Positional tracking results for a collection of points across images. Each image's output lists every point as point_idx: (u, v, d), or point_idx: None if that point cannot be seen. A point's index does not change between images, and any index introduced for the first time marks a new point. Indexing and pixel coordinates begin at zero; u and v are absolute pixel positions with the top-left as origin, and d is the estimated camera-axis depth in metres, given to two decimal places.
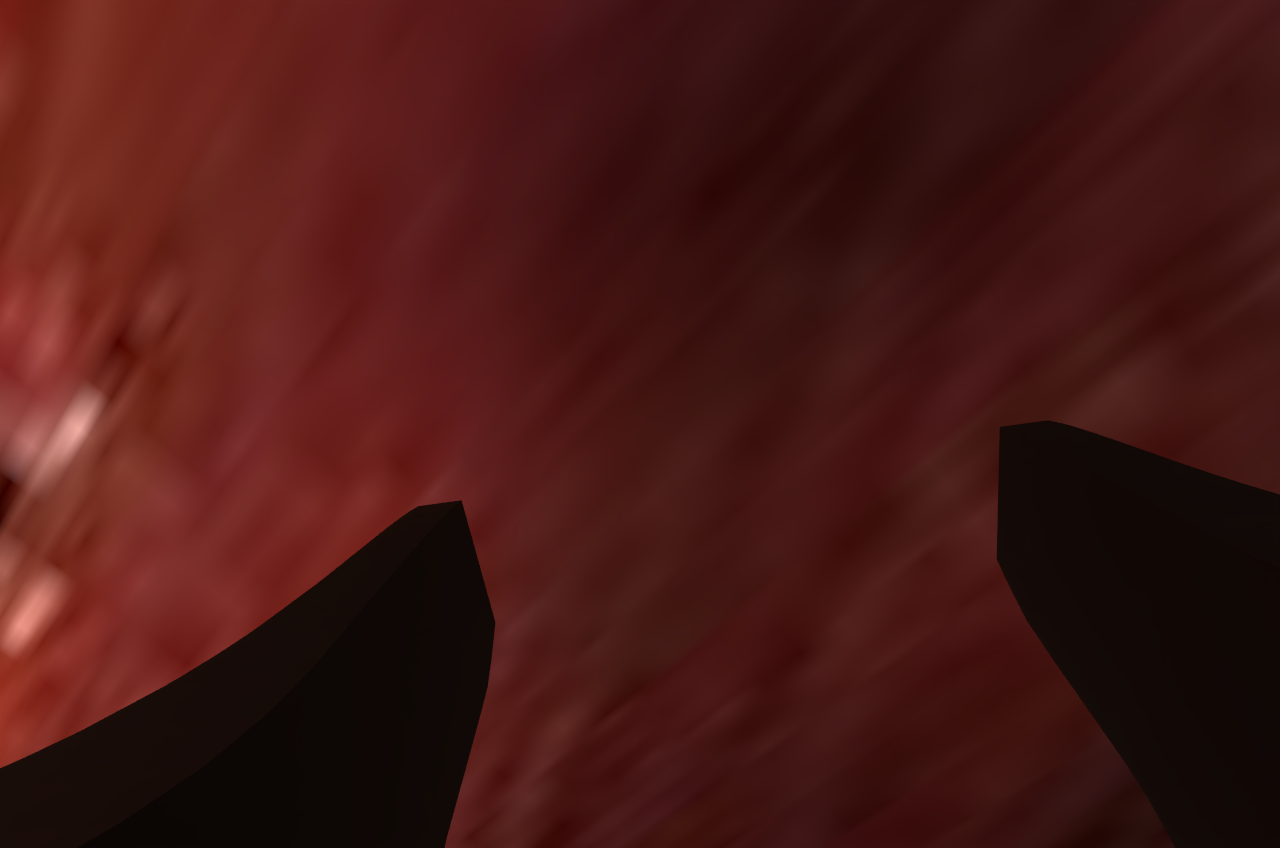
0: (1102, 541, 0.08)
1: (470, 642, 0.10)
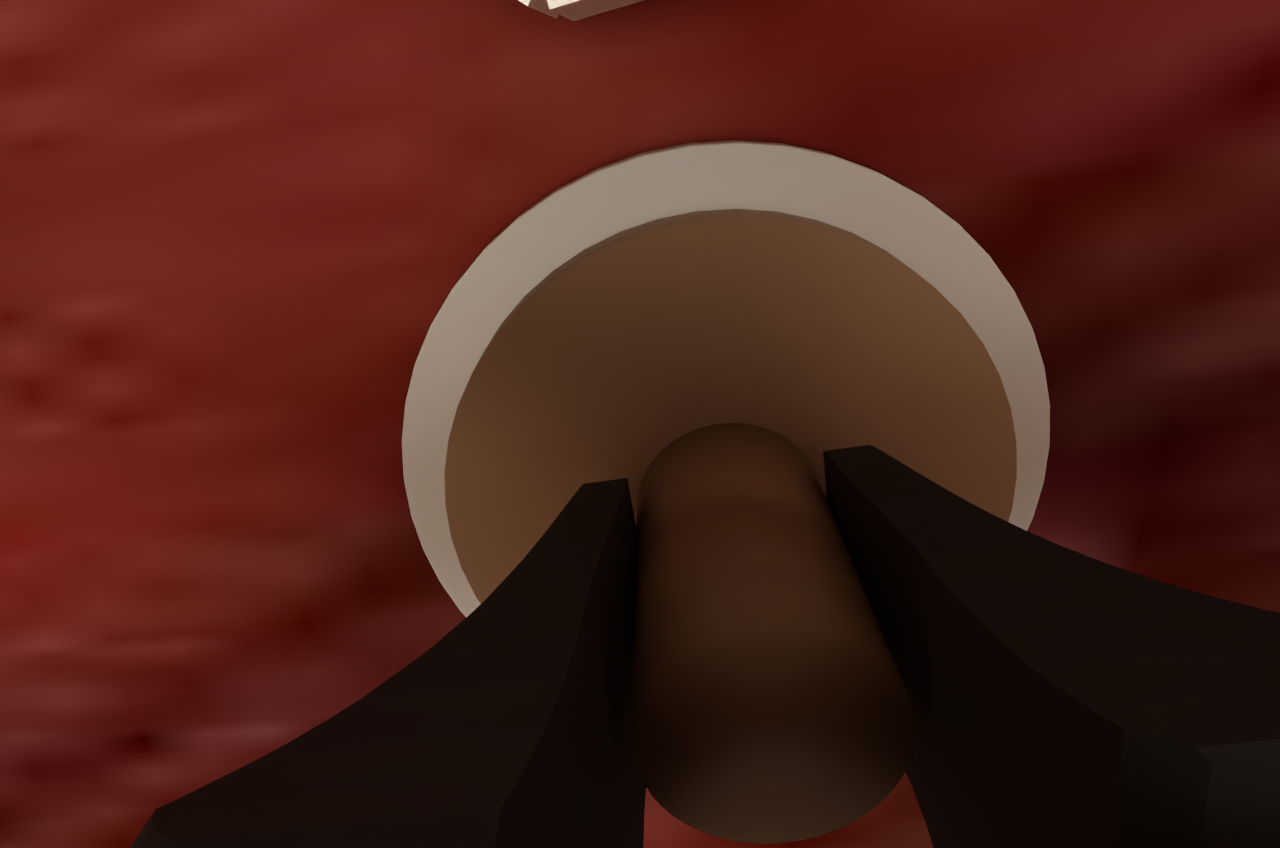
0: (881, 569, 0.09)
1: None
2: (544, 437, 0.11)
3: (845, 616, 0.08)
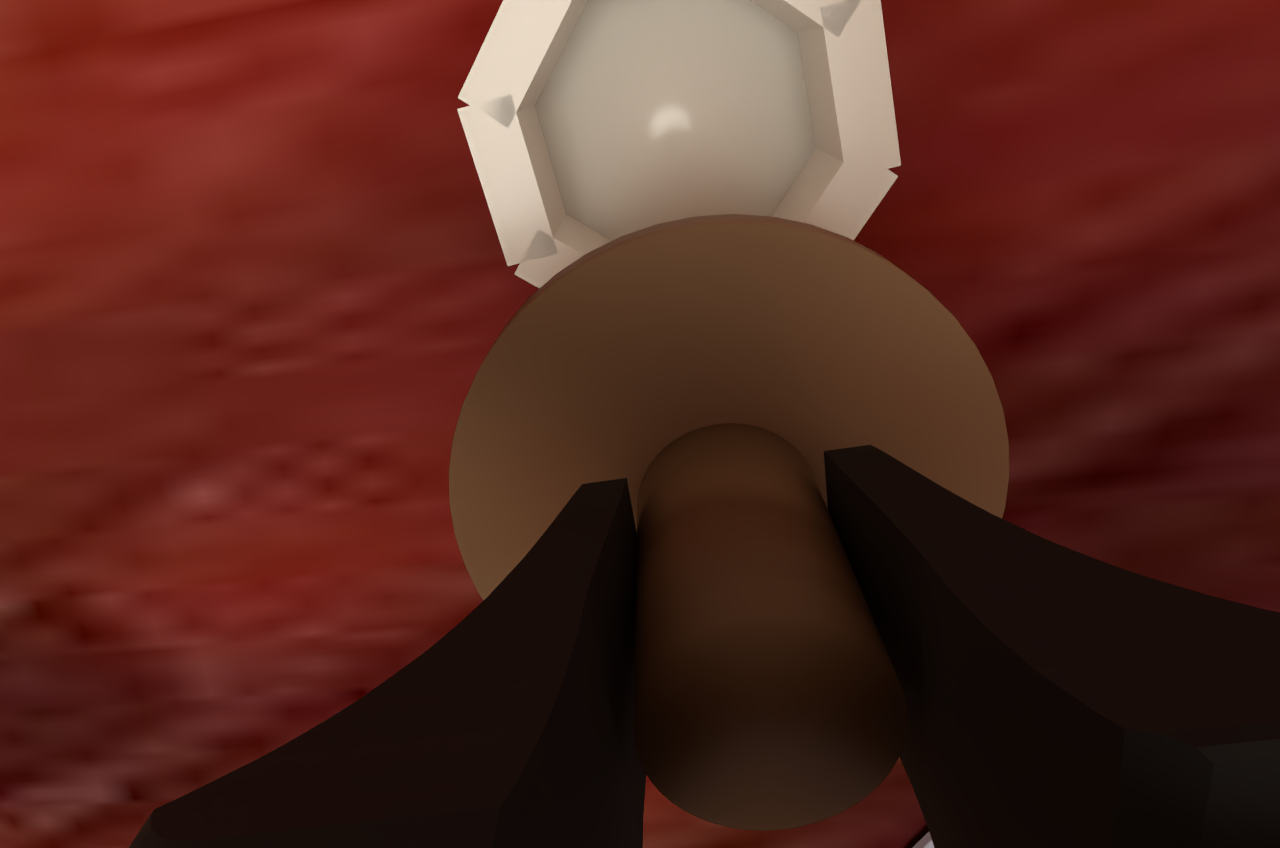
0: (881, 569, 0.09)
1: None
2: (546, 437, 0.11)
3: (839, 608, 0.08)
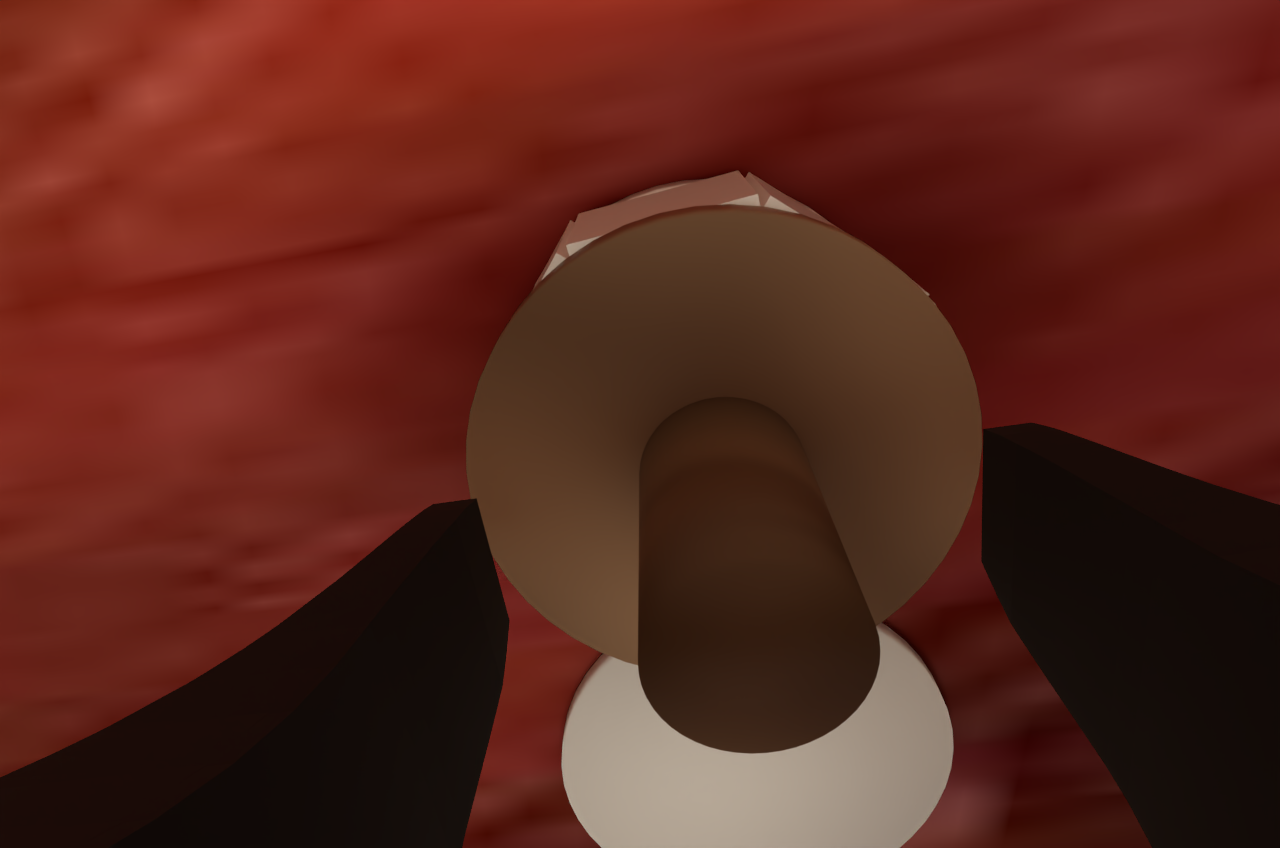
0: (1081, 544, 0.08)
1: (486, 640, 0.10)
2: (556, 409, 0.12)
3: (821, 552, 0.09)
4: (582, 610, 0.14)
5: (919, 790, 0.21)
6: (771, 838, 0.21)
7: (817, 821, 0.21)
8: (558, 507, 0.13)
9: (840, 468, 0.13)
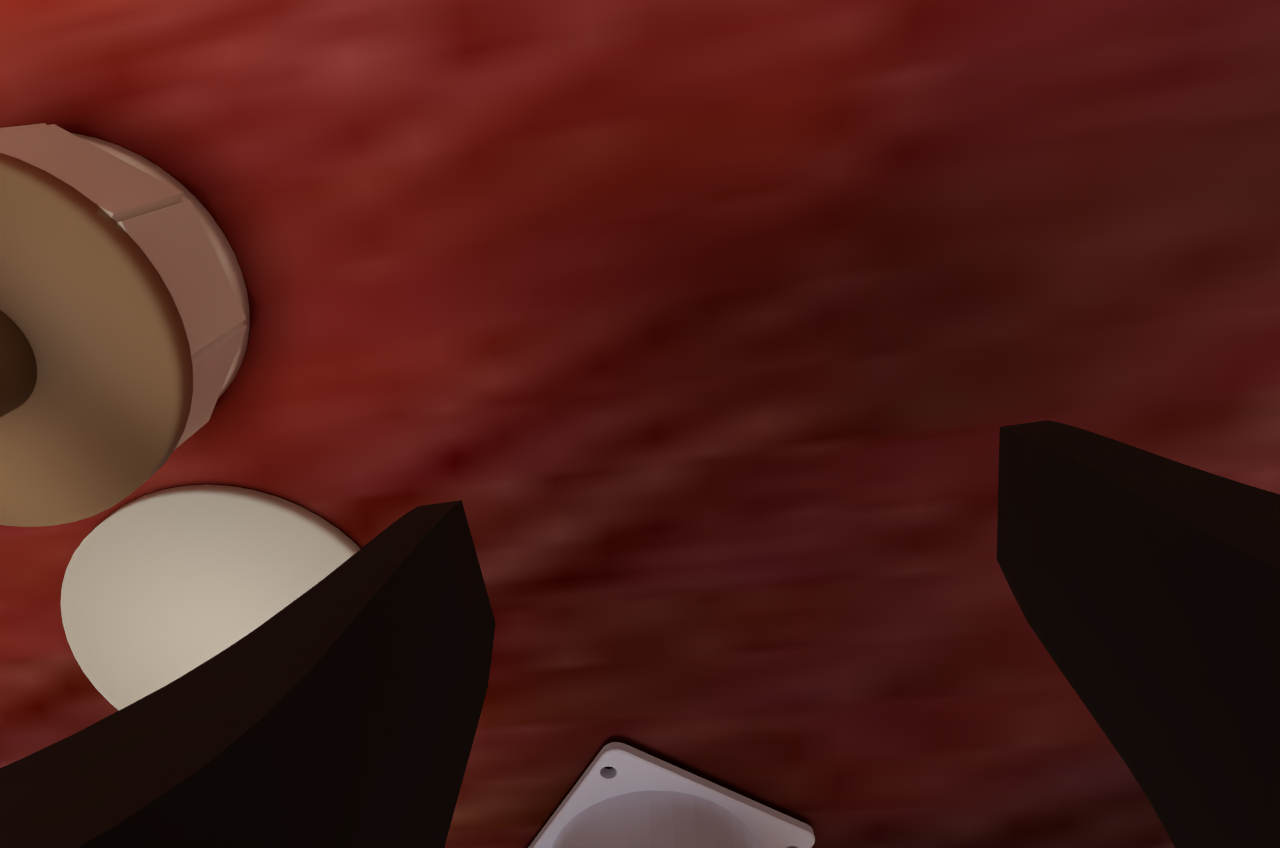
0: (1102, 541, 0.08)
1: (470, 642, 0.10)
2: None
3: None
4: None
5: None
6: None
7: None
8: None
9: (59, 350, 0.17)
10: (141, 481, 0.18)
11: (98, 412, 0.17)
